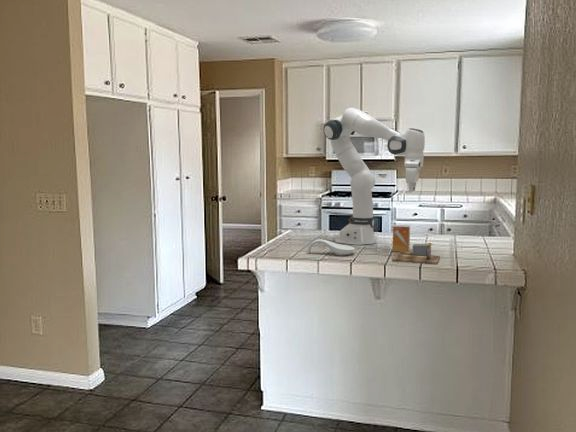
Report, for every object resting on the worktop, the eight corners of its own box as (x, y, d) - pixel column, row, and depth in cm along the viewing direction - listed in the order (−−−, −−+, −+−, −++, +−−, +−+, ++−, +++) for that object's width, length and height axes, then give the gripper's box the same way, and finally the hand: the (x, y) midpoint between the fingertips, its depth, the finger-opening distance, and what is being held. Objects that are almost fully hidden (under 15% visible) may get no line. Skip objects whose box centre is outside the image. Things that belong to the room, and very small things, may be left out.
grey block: (413, 258, 242) (412, 245, 241) (414, 256, 246) (414, 243, 246) (426, 258, 239) (426, 245, 239) (427, 256, 244) (427, 243, 243)
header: (392, 261, 240) (392, 244, 239) (397, 255, 254) (397, 239, 253) (437, 264, 233) (437, 247, 232) (439, 257, 247) (440, 241, 246)
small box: (392, 251, 263) (392, 226, 261) (393, 249, 269) (394, 224, 267) (408, 252, 260) (409, 226, 259) (409, 250, 266) (410, 225, 265)
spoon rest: (355, 252, 262) (355, 238, 261) (354, 257, 250) (354, 242, 250) (309, 251, 266) (309, 237, 265) (305, 256, 255) (305, 241, 254)
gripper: (410, 161, 260) (408, 189, 262) (404, 163, 241) (402, 192, 243) (422, 162, 258) (421, 190, 260) (418, 163, 239) (416, 193, 241)
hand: (411, 191), depth 251 cm, fingers open, 8 cm apart
